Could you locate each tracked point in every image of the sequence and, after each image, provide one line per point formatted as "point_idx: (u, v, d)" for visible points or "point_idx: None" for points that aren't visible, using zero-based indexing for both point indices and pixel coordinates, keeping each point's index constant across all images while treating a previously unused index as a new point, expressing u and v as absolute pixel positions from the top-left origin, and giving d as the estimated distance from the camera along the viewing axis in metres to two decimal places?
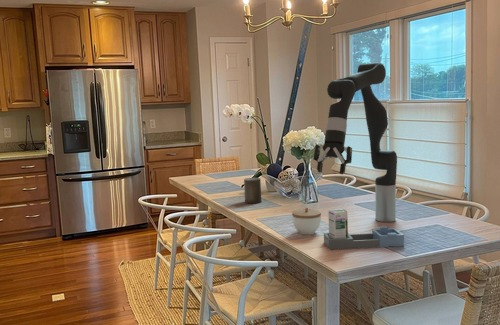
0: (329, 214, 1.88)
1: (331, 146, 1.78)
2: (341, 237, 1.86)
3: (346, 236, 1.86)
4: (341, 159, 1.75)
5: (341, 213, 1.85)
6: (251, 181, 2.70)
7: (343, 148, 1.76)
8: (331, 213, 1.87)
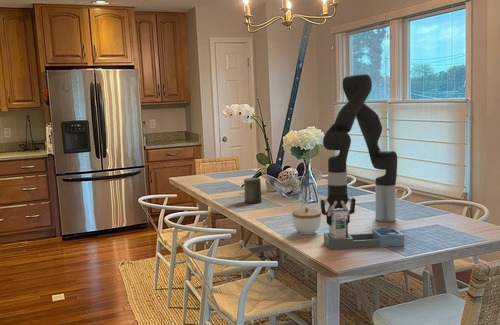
0: None
1: (337, 199, 1.85)
2: (341, 237, 1.86)
3: (346, 236, 1.86)
4: (347, 211, 1.86)
5: (341, 213, 1.85)
6: (251, 181, 2.70)
7: (348, 199, 1.86)
8: (331, 213, 1.87)
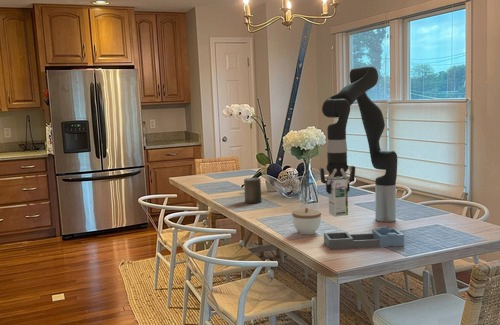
0: None
1: (336, 167, 1.84)
2: (341, 205, 1.84)
3: (346, 204, 1.85)
4: None
5: (341, 181, 1.83)
6: (251, 181, 2.70)
7: (348, 167, 1.84)
8: (331, 181, 1.85)
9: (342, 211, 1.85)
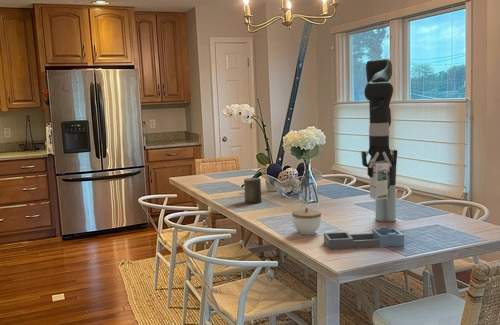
0: None
1: (378, 150, 1.84)
2: (383, 189, 1.84)
3: (388, 188, 1.85)
4: None
5: (383, 164, 1.83)
6: (251, 181, 2.70)
7: (390, 151, 1.85)
8: (372, 165, 1.85)
9: (384, 194, 1.85)
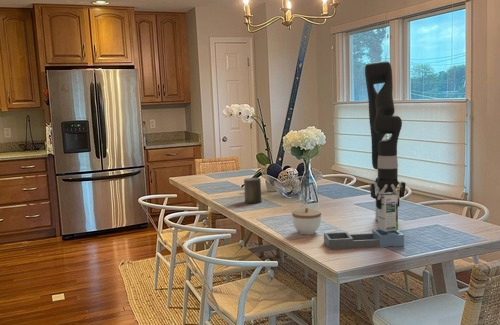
0: None
1: (387, 182, 1.86)
2: (391, 221, 1.86)
3: (396, 220, 1.87)
4: None
5: (391, 196, 1.85)
6: (251, 181, 2.70)
7: (398, 183, 1.86)
8: (381, 197, 1.87)
9: (392, 226, 1.86)
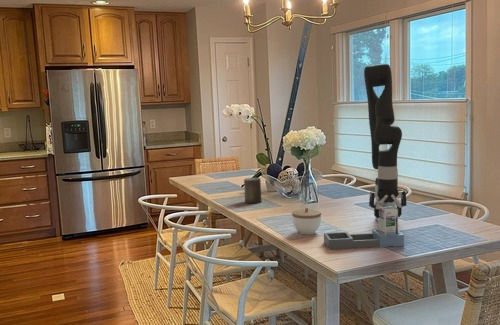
0: (379, 211, 1.90)
1: (387, 193, 1.86)
2: None
3: (396, 233, 1.87)
4: (398, 204, 1.87)
5: (391, 210, 1.86)
6: (251, 181, 2.70)
7: (398, 193, 1.87)
8: (381, 210, 1.88)
9: None
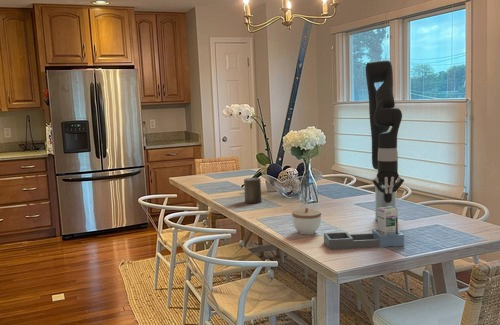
0: (379, 211, 1.90)
1: (387, 175, 1.85)
2: None
3: (396, 233, 1.87)
4: (391, 189, 1.86)
5: (391, 210, 1.86)
6: (251, 181, 2.70)
7: (397, 177, 1.86)
8: (381, 210, 1.88)
9: None
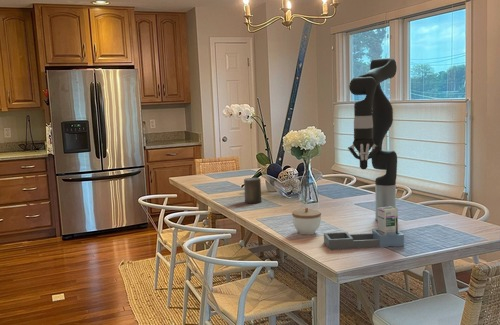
0: (379, 211, 1.90)
1: (362, 142, 1.92)
2: None
3: (396, 233, 1.87)
4: (366, 156, 1.93)
5: (391, 210, 1.86)
6: (251, 181, 2.70)
7: (373, 144, 1.93)
8: (381, 210, 1.88)
9: None
